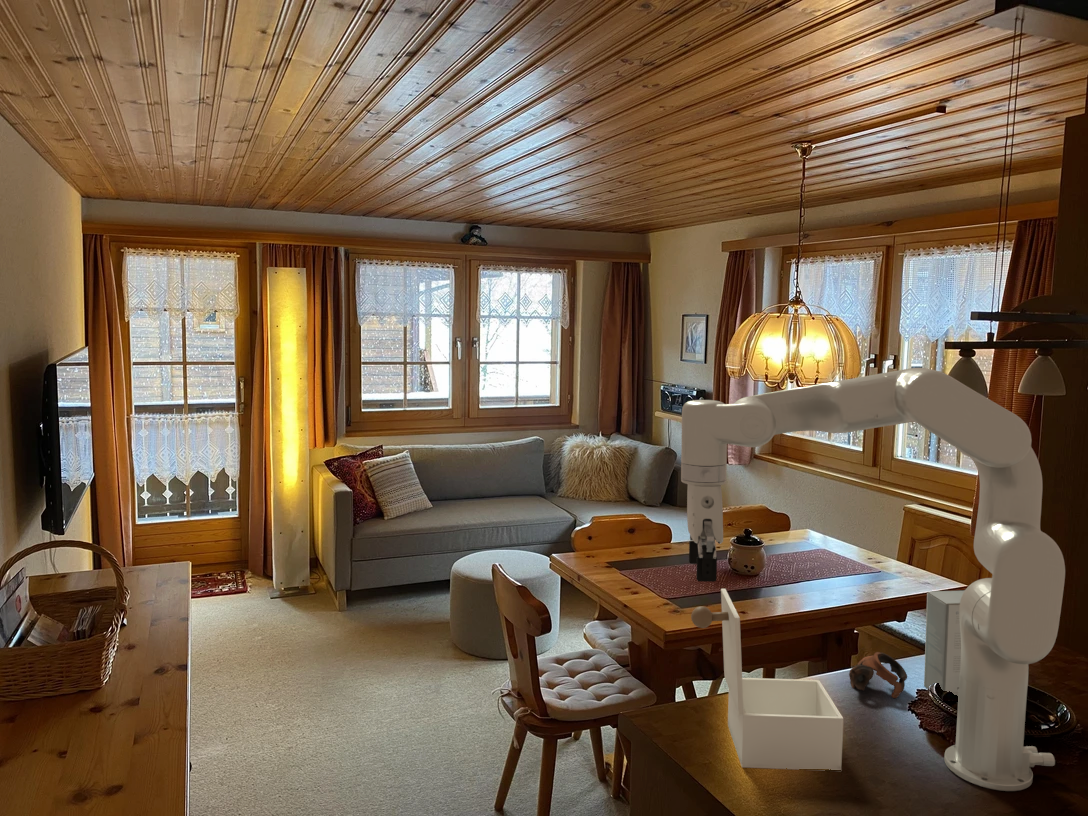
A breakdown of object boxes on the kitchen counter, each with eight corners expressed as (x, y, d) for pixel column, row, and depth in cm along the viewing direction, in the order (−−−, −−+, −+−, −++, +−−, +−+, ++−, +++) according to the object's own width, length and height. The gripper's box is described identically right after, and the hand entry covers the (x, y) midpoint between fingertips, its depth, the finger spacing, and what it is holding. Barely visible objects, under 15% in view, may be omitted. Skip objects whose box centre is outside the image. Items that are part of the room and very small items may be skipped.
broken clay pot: (865, 676, 165) (888, 647, 162) (896, 713, 158) (921, 684, 155) (828, 674, 159) (851, 644, 156) (859, 712, 151) (884, 682, 148)
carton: (817, 727, 142) (819, 680, 141) (841, 771, 128) (843, 718, 128) (727, 724, 143) (729, 677, 142) (741, 767, 130) (743, 715, 129)
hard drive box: (996, 684, 160) (1002, 589, 158) (1020, 702, 152) (1027, 602, 150) (921, 685, 160) (926, 589, 158) (941, 703, 152) (947, 603, 150)
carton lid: (725, 588, 141) (686, 590, 142) (739, 617, 127) (695, 619, 127) (728, 676, 143) (689, 677, 143) (743, 715, 128) (700, 716, 129)
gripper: (735, 483, 124) (733, 588, 126) (717, 464, 141) (716, 557, 143) (687, 483, 125) (686, 588, 126) (675, 464, 142) (674, 557, 144)
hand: (702, 571), depth 135 cm, fingers open, 9 cm apart
